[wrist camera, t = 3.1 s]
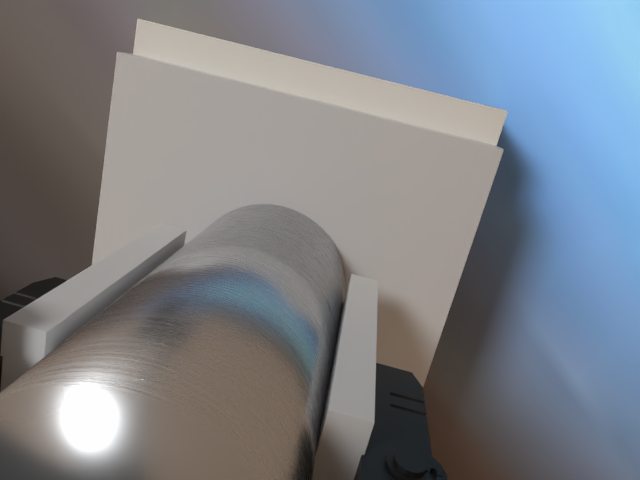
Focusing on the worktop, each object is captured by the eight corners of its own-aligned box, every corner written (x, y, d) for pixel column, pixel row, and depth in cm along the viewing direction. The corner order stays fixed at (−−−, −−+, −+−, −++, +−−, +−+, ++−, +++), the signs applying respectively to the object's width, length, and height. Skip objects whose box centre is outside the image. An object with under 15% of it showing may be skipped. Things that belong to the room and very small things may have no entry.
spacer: (205, 186, 16) (-70, 338, 6) (363, 227, 16) (334, 452, 6) (179, 330, 17) (-77, 636, 8) (325, 369, 17) (250, 736, 7)
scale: (170, 27, 18) (121, 14, 15) (491, 108, 18) (516, 112, 14) (112, 422, 23) (66, 480, 19) (365, 493, 22) (362, 566, 19)
